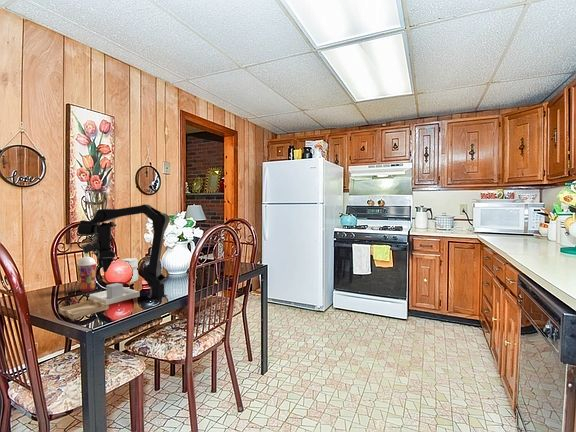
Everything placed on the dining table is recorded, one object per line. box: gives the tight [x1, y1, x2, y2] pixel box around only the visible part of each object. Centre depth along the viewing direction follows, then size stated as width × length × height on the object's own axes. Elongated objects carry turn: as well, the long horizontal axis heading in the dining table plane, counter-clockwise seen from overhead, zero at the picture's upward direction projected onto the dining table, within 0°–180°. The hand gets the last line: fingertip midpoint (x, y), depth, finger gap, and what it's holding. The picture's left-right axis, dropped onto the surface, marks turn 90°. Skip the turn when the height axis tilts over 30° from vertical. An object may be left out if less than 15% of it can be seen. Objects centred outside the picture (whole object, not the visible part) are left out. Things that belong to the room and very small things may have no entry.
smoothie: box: [76, 253, 97, 293], centre depth 160 cm, size 8×8×20 cm
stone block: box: [105, 282, 124, 299], centre depth 147 cm, size 5×5×6 cm
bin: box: [88, 286, 140, 306], centre depth 147 cm, size 15×15×2 cm
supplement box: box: [121, 257, 139, 284], centre depth 177 cm, size 7×7×13 cm
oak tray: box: [58, 299, 110, 321], centre depth 130 cm, size 13×13×2 cm
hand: (102, 269), depth 146 cm, fingers open, 9 cm apart
